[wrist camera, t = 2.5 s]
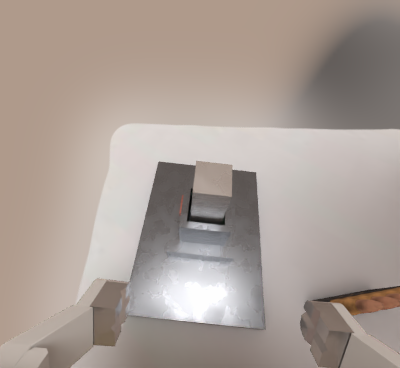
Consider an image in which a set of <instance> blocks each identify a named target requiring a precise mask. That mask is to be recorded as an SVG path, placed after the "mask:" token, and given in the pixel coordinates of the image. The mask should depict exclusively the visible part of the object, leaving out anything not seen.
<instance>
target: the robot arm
mask: <svg viewBox="0 0 400 368" xmlns="http://www.w3.org/2000/svg"><path fill="white" fill-rule="evenodd" d="M130 290H131V283H130V282H124V281H116V280H107V279H99V278H98V279H96V280H95V281H94V282H93V283H92V285H91V286H90V287H89V289H88V290H87V291H86V293H85V294H84V295H83V297H82V298H81V299H80V301H79V302H78V303H77V305H72V306H70V307H68V308H66V309H65V310H63V311H61V312H59V313H57V314H56V315H54V316H52V317H50V318H48V319H47V320H45V321H43V322H41V323H40V324H38V325H36V326H34V327H32V328H30V329H29V330H27V331H25V332H23V333H21V334H19V335H18V336H16V337H14V338H12V339H10V340H9V341H7V342H5V343H4V344H3V345H2V346H1V347H0V368H70V367H71V366H72V365H73V364H74V363H75V362H77V361H78V360H79V359H80V358H81V357H82V356H83V355H84V354H85V353H86V352H88V351H89V350H90V349H91V348H92V347H93V345H103V346H115V344H116V342H117V340H118V337H119V335H120V332H121V324H123V323H124V322H125V320H126V318H127V315H128V311H129V307H130V297H129V296H128V295H129V292H130ZM304 309H305V311H306V312H305V313H304V314H303V315H302V316H301V321H300V326H301V331H302V335H303V337H304V339H305V340H306V341H307V342H308V343H309V344H310V345H311V348H310V351H311V353H312V355H313V357H314V359H315V361H316V363H317V365H318V367H326V368H400V354H399V353H397V352H396V351H394V350H393V349H391V348H390V347H388V346H387V345H385V344H384V343H382V342H381V341H379V340H378V339H376V338H375V337H373V336H372V335H367V333H366V332H365V331H364V330H363V329H362V327H361V326H360V325H359V324H358V322H357V321H356V320H355V319H354V318H353V316H352V315H351V314H350V313H349V312H348V310H347V309H346V308H345V307H344V305H342V304H341V303H332V302H318V301H308V300H307V301H306V302H305V305H304Z"/></svg>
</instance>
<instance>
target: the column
mask: <svg viewBox="0 0 400 368" xmlns="http://www.w3.org/2000/svg"><path fill="white" fill-rule="evenodd" d="M231 198H232V165H228V164H219V163H210V162H201V161H196V169H195V177H194V185H193V193H192V207H191V220H190V222H199V223H208V224H217V225H220V224H221V222H222V219H223V217H224V214H225V212H226V210H227V207H228V205H229V202H230V200H231Z"/></svg>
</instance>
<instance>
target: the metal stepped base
mask: <svg viewBox="0 0 400 368" xmlns="http://www.w3.org/2000/svg"><path fill="white" fill-rule="evenodd" d="M195 169H196V166H193V165H184V164H175V163H166V162H159V163H158V167H157V171H156V175H155V179H154V183H153V187H152V192H151V196H150V200H149V204H148V208H147V212H146V217H145V221H144V225H143V229H142V233H141V237H140V241H139V246H138V250H137V254H136V258H135V262H134V266H133V271H132V275H131V279H130V283H131V290H130V292H129V295H128V296H129V297H130V307H129V311H128V315H131V316H141V317H150V318H160V319H169V320H179V321H188V322H198V323H207V324H217V325H227V326H236V327H246V328H255V329H265V316H264V299H263V282H262V266H261V249H260V232H259V215H258V198H257V182H256V172H247V171H238V170H232V198H231V200H230V202H229V205H228V207H227V210H226V212H225V214H224V217H223V219H222V222H221V224H220V225H217V224H208V223H199V222H190V220H191V207H192V193H193V185H194V177H195Z"/></svg>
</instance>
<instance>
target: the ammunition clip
mask: <svg viewBox="0 0 400 368" xmlns="http://www.w3.org/2000/svg"><path fill="white" fill-rule="evenodd" d="M313 301H318V302H332V303H341V304H342V305H344V307H345V308H346V309H347V310H348V312H349V313H350V314H351V315H357V314H361V313H371V312H376V311H379V310H385V309H391V308H394V307H400V286H396V287H388V288H380V289H372V290H367V291H361V292H356V293H350V294H345V295H340V296H334V297H329V298H324V299H318V300H313Z"/></svg>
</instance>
